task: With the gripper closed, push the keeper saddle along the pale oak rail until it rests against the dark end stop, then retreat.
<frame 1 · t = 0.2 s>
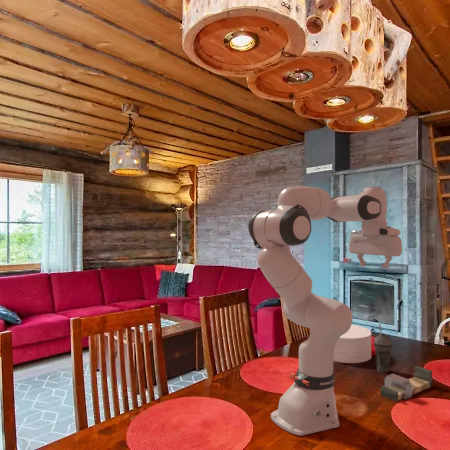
hand: (373, 267, 137), 47 cm above the table, fingers open, 8 cm apart
rail: (407, 390, 138), on the table
keeper: (397, 385, 135), point 3 cm above the table, slide at 0.0 cm
beverage cup: (382, 370, 158), on the table
plate stack: (340, 353, 180), on the table
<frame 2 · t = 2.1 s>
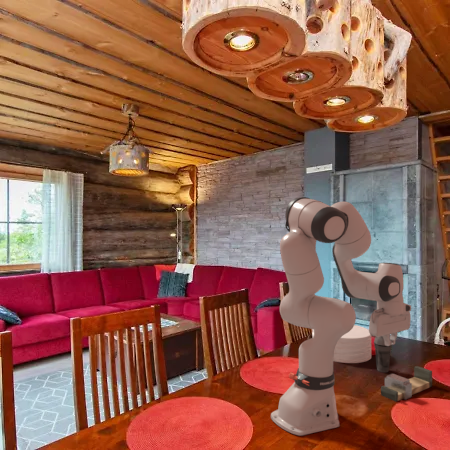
hand: (389, 345, 132), 19 cm above the table, fingers closed
nothing on the table moved.
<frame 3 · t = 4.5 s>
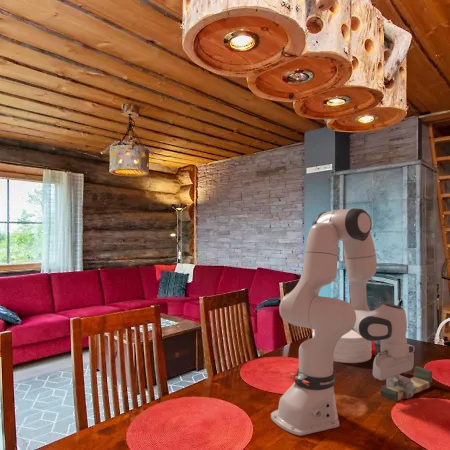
hand: (393, 386, 133), 4 cm above the table, fingers closed
keeper: (399, 385, 135), point 3 cm above the table, slide at 1.0 cm, touching gripper
everything else where it was.
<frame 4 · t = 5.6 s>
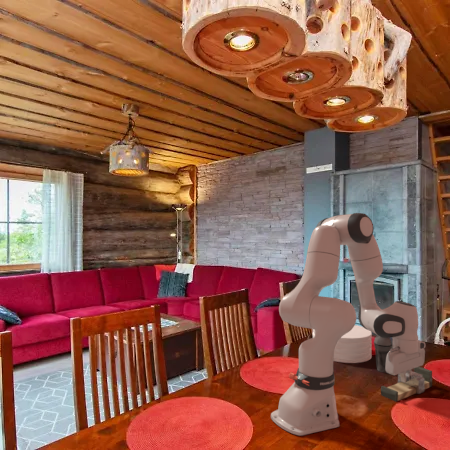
hand: (405, 381, 137), 4 cm above the table, fingers closed
keeper: (410, 380, 139), point 3 cm above the table, slide at 8.5 cm, touching gripper
everything else where it was.
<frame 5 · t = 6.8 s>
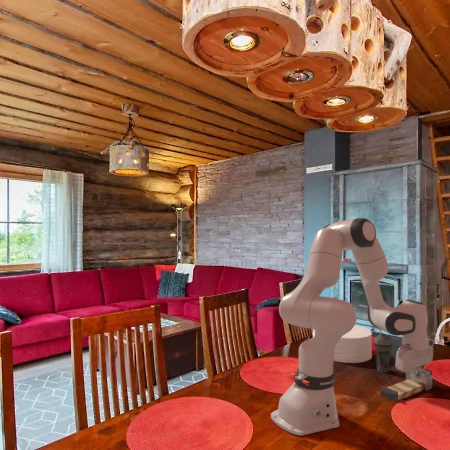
hand: (414, 377, 141), 4 cm above the table, fingers closed
keeper: (418, 377, 142), point 3 cm above the table, slide at 14.0 cm, touching gripper, rail
everything else where it was.
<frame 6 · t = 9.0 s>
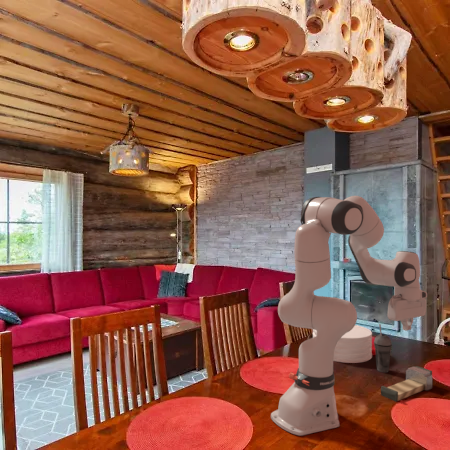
hand: (407, 329, 138), 23 cm above the table, fingers closed
keeper: (418, 377, 142), point 3 cm above the table, slide at 14.0 cm, touching rail
everything else where it was.
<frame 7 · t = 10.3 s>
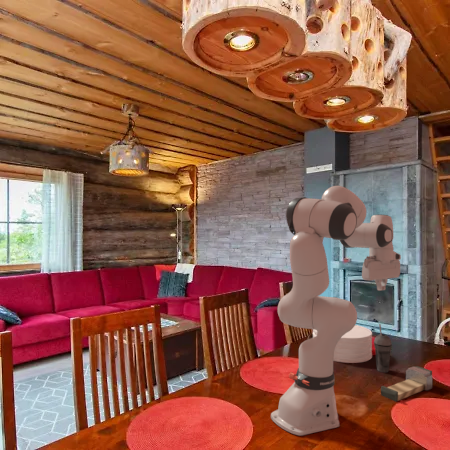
hand: (381, 290, 144), 37 cm above the table, fingers closed
nothing on the table moved.
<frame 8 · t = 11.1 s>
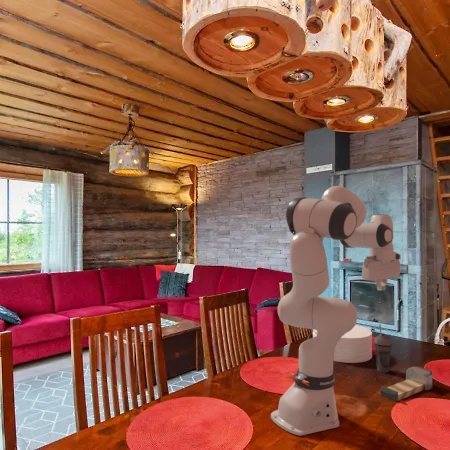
hand: (381, 290, 144), 37 cm above the table, fingers closed
nothing on the table moved.
at the end: keeper slide at 14.0 cm; keeper 0.2 cm from the target spot, on the table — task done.
